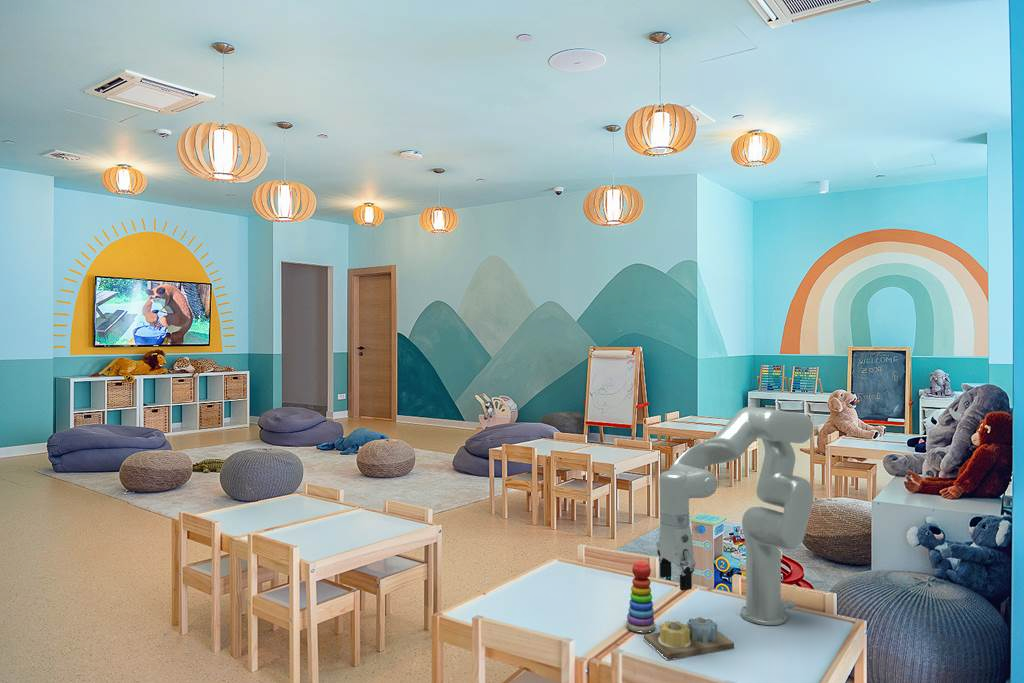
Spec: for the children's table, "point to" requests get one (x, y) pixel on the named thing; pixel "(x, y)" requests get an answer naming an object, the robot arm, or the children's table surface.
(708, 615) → the children's table surface
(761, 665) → the children's table surface
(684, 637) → the ochre gear
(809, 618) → the children's table surface
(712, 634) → the slate gear
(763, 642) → the children's table surface
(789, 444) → the robot arm
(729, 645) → the gear board
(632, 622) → the stacking toy
